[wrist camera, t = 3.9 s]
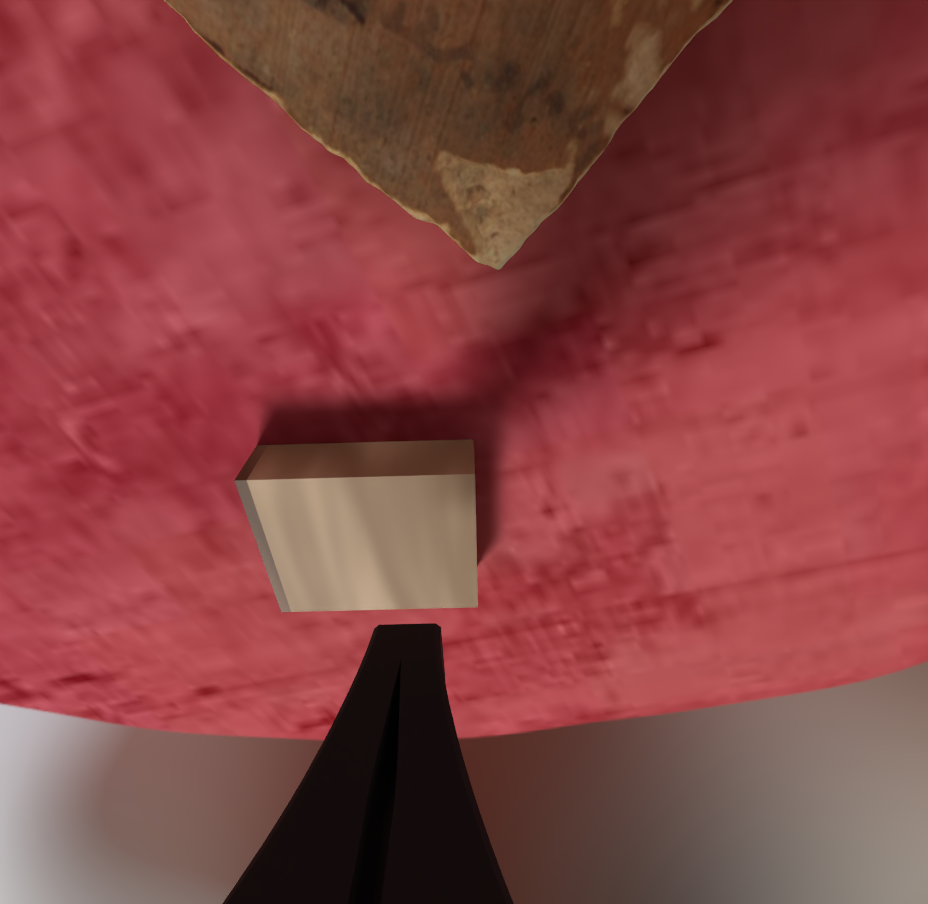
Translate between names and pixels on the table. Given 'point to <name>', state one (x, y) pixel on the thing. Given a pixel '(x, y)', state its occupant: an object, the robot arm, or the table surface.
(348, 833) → the robot arm
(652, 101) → the table surface
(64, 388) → the table surface
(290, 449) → the oak slab
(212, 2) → the shard
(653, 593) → the table surface
